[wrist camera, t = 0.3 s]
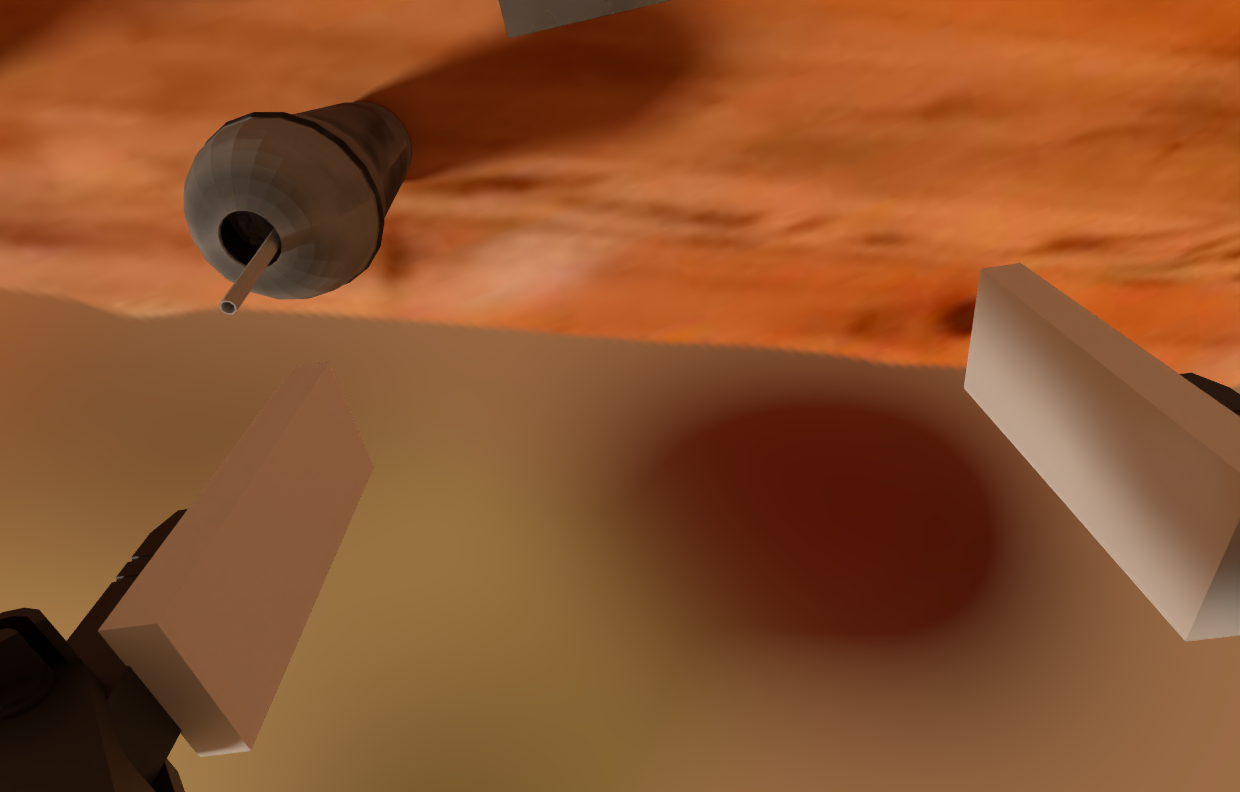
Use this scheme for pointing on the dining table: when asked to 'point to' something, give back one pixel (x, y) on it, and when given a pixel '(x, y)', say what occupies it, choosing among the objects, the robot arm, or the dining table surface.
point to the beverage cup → (295, 198)
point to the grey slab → (559, 12)
